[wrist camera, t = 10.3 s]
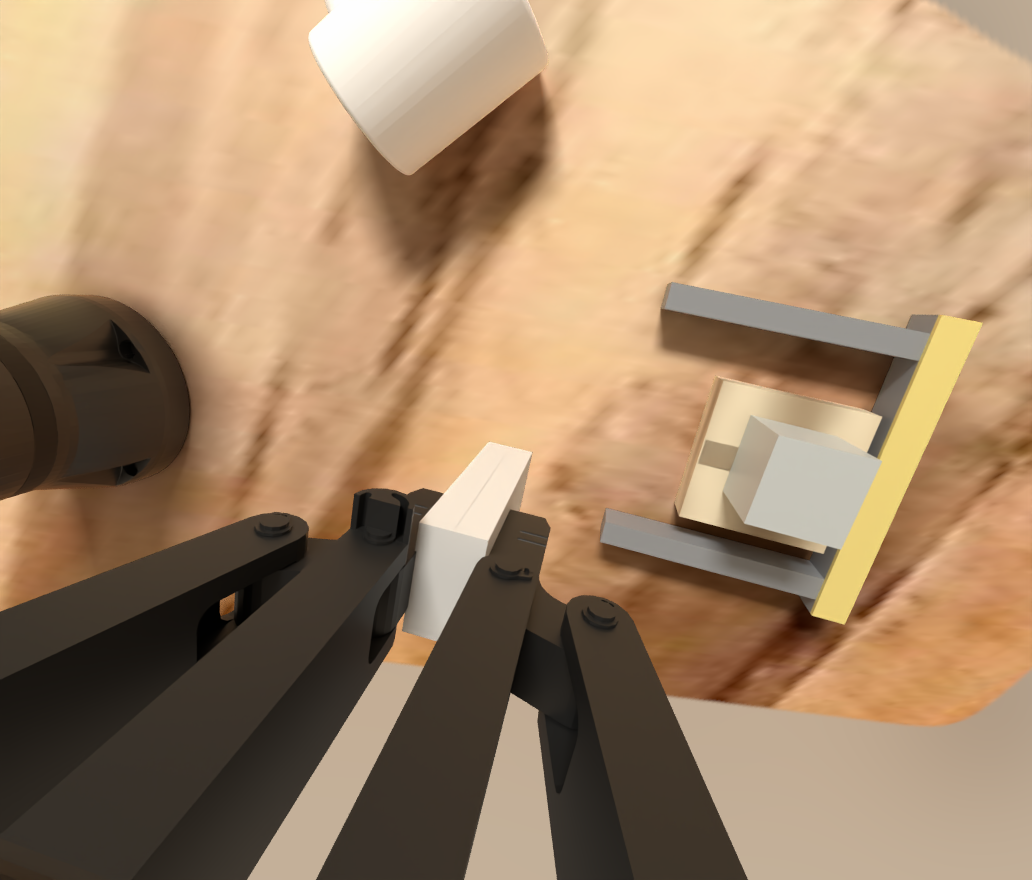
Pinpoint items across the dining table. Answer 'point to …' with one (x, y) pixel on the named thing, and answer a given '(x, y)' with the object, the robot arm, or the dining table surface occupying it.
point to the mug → (425, 67)
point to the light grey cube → (799, 481)
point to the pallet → (723, 437)
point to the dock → (897, 443)
